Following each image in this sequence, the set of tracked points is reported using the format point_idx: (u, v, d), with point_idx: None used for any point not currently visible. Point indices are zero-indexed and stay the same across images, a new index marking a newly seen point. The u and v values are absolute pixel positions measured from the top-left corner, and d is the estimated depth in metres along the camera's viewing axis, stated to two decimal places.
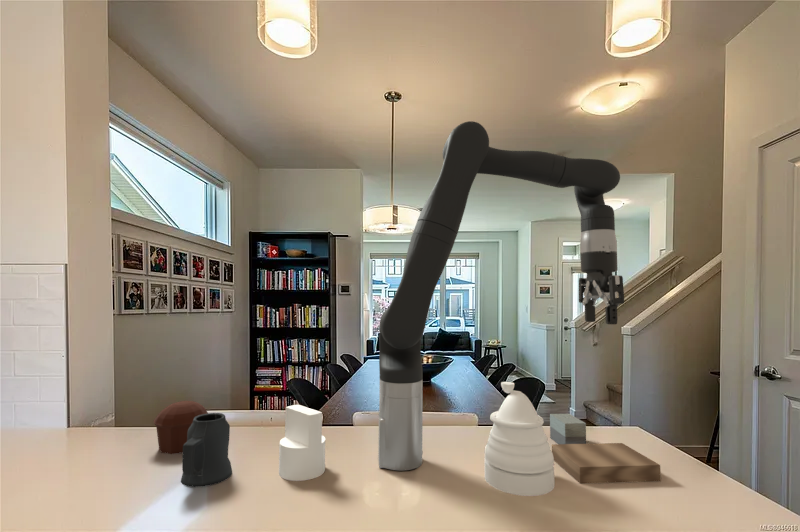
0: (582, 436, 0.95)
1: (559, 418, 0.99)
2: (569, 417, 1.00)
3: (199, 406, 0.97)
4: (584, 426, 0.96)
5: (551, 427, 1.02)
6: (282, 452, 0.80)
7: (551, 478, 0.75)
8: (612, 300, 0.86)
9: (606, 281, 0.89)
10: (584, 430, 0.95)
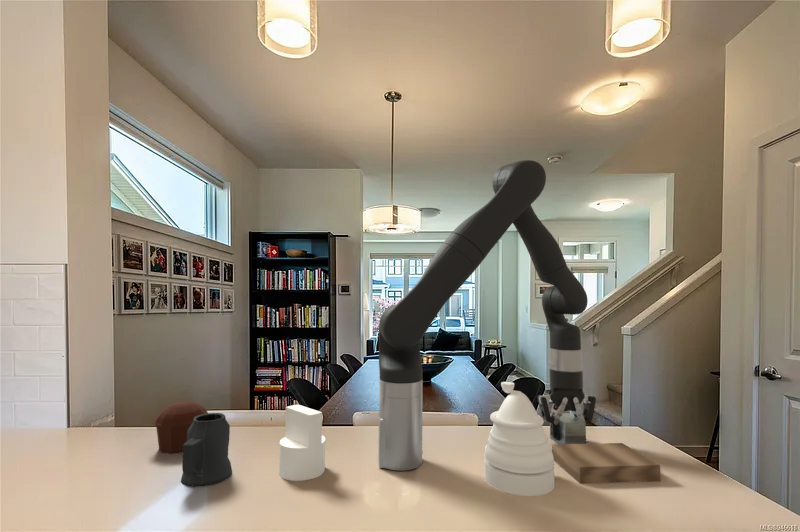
0: (582, 435, 0.95)
1: None
2: (569, 416, 1.00)
3: (199, 406, 0.97)
4: (584, 425, 0.96)
5: None
6: (282, 452, 0.80)
7: (551, 478, 0.75)
8: (591, 419, 0.99)
9: (584, 400, 0.99)
10: (584, 429, 0.96)
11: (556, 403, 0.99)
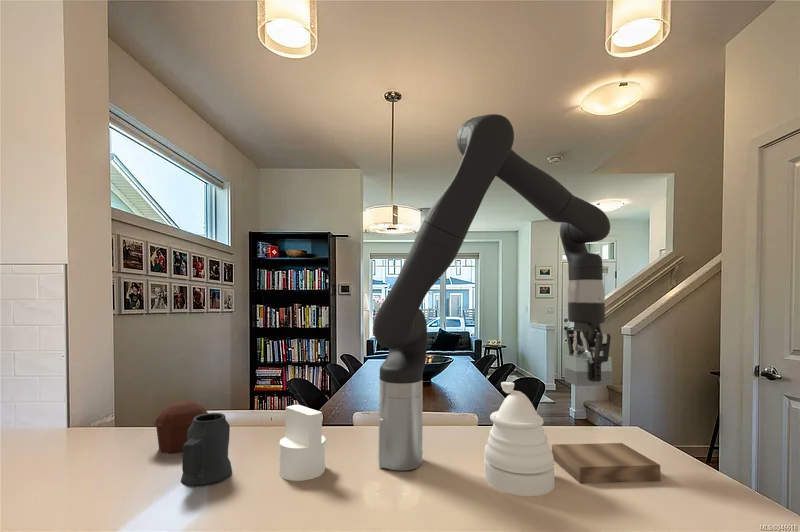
0: None
1: None
2: (582, 354, 0.91)
3: (199, 406, 0.97)
4: None
5: (579, 371, 0.88)
6: (282, 452, 0.80)
7: (551, 478, 0.75)
8: None
9: None
10: None
11: None
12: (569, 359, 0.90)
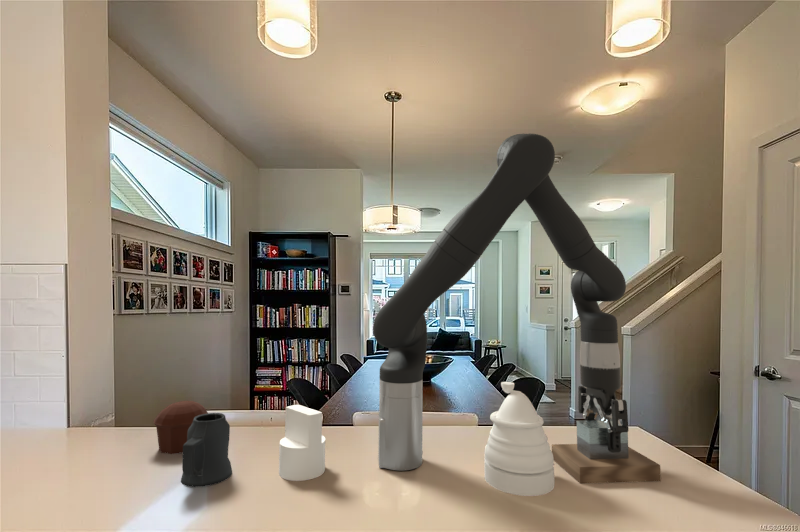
0: None
1: (606, 427, 0.83)
2: (595, 422, 0.86)
3: (199, 406, 0.97)
4: None
5: (593, 444, 0.82)
6: (282, 452, 0.80)
7: (551, 478, 0.75)
8: None
9: None
10: None
11: None
12: (582, 428, 0.85)
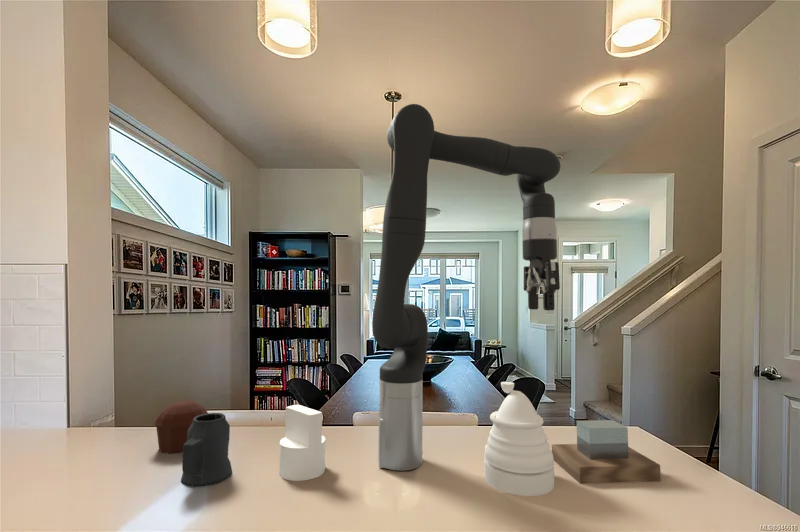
0: None
1: (606, 427, 0.83)
2: (595, 422, 0.86)
3: (199, 406, 0.97)
4: None
5: (593, 444, 0.82)
6: (282, 452, 0.80)
7: (551, 478, 0.75)
8: None
9: None
10: None
11: None
12: (582, 428, 0.85)
